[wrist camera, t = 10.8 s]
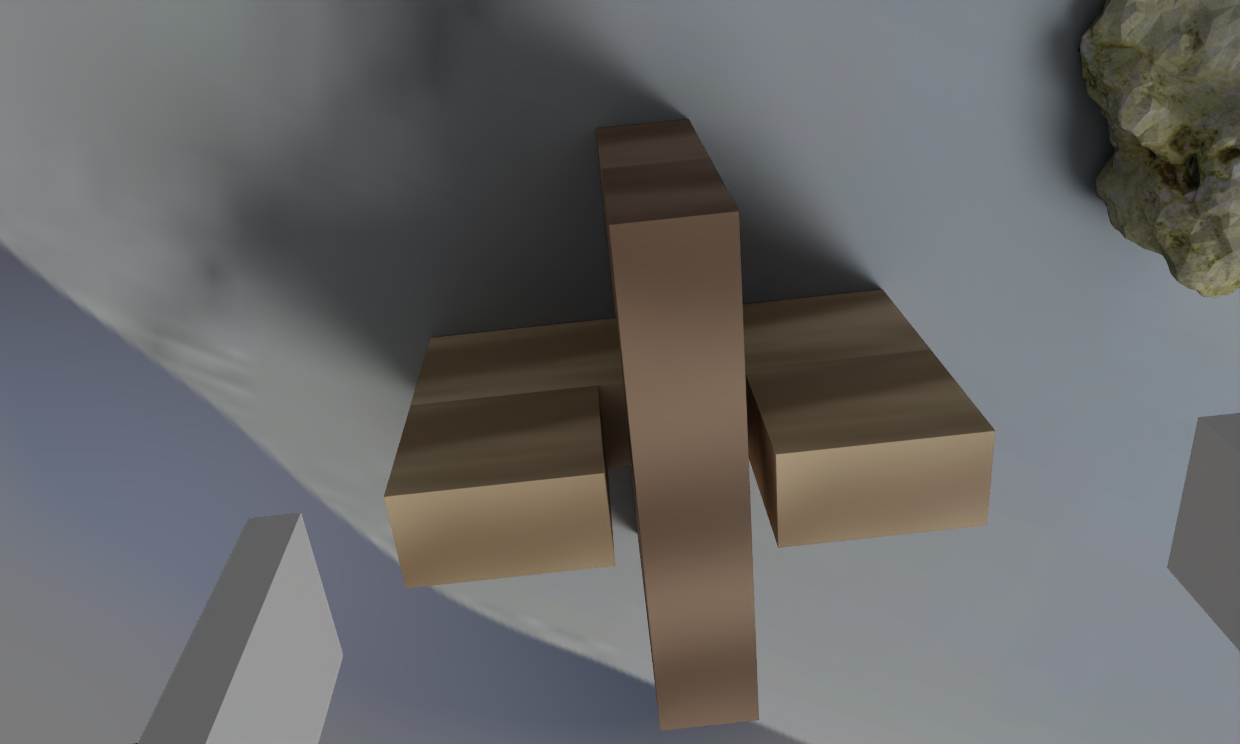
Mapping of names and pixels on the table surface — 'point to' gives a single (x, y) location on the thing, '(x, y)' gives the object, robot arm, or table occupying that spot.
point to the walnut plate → (684, 414)
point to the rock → (1172, 131)
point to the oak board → (598, 439)
